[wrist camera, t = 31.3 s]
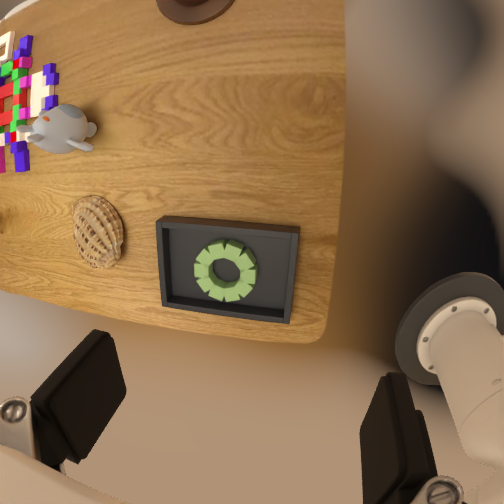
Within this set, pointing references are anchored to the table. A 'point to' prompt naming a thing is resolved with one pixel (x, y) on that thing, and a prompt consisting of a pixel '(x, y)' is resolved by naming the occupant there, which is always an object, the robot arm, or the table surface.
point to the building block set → (22, 96)
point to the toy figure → (60, 130)
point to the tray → (228, 266)
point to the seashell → (97, 231)
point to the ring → (230, 252)
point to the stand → (192, 10)
